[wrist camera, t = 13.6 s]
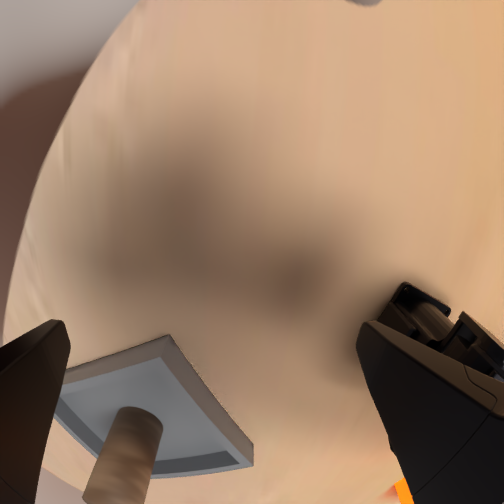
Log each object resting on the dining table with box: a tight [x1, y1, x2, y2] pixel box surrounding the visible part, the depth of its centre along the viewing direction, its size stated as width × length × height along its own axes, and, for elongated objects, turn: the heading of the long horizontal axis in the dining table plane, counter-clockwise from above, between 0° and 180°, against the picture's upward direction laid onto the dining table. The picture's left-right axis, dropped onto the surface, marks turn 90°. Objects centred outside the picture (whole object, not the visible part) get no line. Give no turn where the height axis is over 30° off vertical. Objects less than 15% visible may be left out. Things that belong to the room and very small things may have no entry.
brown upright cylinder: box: [82, 406, 163, 504], centre depth 20 cm, size 5×5×11 cm
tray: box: [53, 335, 254, 479], centre depth 25 cm, size 18×16×3 cm
